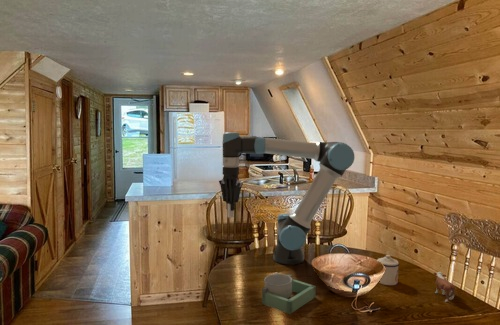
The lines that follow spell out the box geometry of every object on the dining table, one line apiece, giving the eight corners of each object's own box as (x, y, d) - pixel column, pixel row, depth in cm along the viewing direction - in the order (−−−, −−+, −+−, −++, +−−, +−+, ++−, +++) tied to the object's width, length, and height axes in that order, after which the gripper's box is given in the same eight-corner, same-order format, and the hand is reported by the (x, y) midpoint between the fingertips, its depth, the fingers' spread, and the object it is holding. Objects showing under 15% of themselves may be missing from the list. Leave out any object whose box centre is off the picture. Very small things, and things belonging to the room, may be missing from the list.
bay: (288, 288, 159) (288, 274, 158) (315, 297, 151) (315, 282, 150) (261, 303, 145) (262, 288, 144) (289, 314, 137) (290, 298, 137)
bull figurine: (441, 289, 160) (442, 270, 159) (456, 304, 146) (458, 283, 146) (430, 288, 160) (431, 269, 159) (444, 303, 147) (446, 283, 146)
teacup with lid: (400, 286, 162) (401, 259, 161) (378, 285, 163) (379, 258, 162) (393, 275, 174) (395, 250, 173) (372, 274, 175) (374, 249, 174)
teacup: (291, 305, 144) (291, 285, 143) (262, 303, 145) (262, 283, 144) (292, 290, 157) (293, 271, 157) (266, 288, 159) (266, 269, 158)
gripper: (214, 165, 177) (214, 216, 179) (236, 168, 169) (235, 220, 171) (225, 164, 183) (225, 213, 185) (247, 166, 175) (246, 217, 177)
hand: (230, 217), depth 178 cm, fingers closed
